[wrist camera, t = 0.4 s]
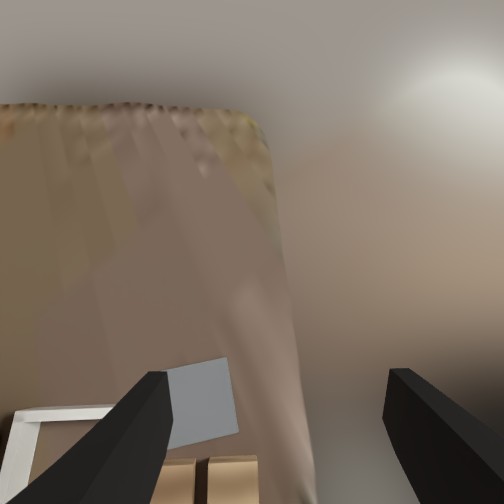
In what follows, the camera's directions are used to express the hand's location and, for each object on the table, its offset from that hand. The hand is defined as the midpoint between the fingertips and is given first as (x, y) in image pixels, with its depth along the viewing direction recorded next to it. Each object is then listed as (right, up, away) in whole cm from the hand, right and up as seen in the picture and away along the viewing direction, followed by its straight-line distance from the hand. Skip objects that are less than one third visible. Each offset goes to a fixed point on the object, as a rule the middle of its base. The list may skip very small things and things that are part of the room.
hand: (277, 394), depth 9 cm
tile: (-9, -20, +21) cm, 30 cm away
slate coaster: (-7, -13, +24) cm, 28 cm away
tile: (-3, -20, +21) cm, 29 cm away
